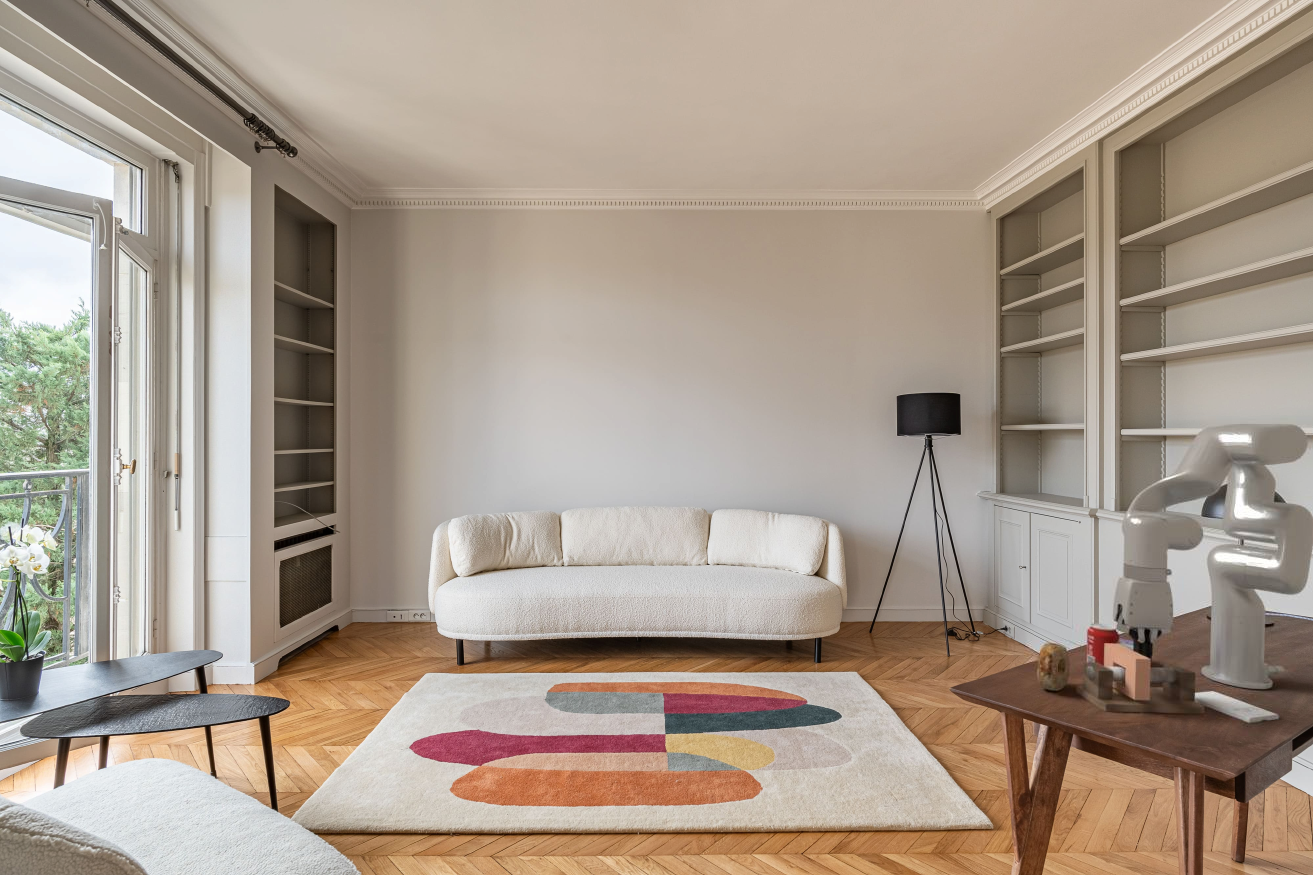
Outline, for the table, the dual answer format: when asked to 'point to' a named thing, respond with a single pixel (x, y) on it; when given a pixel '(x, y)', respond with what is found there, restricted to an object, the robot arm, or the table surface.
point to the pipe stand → (1162, 700)
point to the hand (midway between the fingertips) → (1142, 659)
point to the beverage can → (1100, 641)
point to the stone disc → (1053, 666)
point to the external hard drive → (1233, 707)
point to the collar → (1129, 670)
